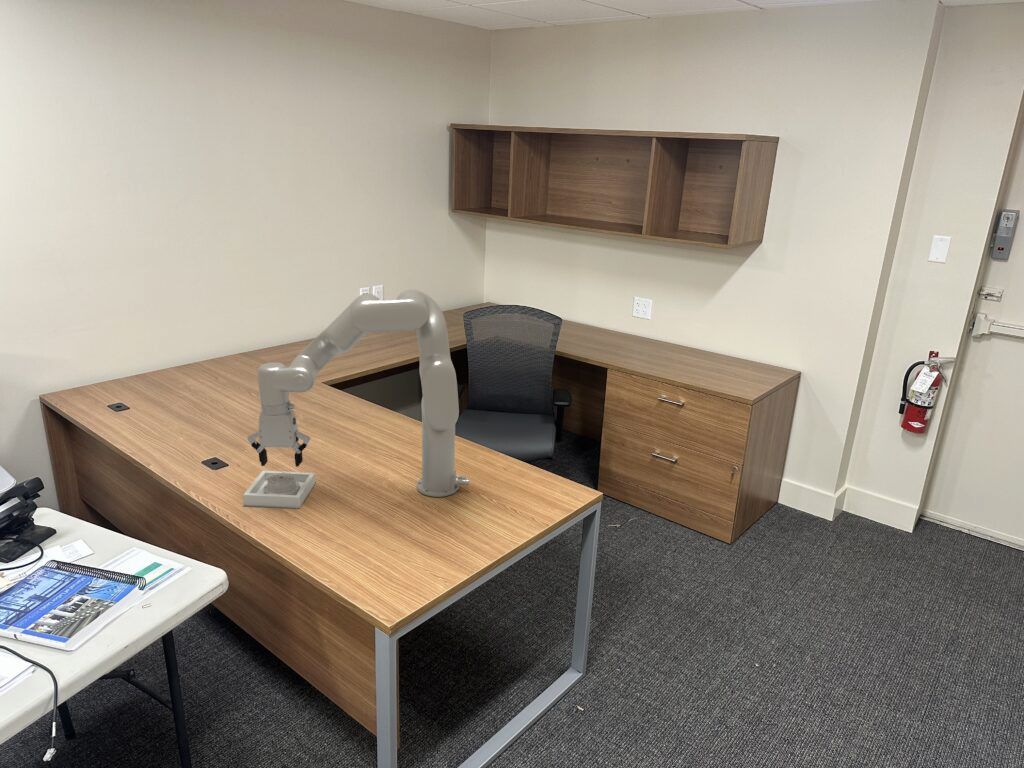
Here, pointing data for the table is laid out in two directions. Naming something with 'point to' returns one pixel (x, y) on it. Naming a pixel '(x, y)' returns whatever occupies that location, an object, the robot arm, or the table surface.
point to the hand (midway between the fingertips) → (281, 464)
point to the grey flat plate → (274, 507)
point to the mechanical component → (282, 484)
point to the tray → (258, 498)
